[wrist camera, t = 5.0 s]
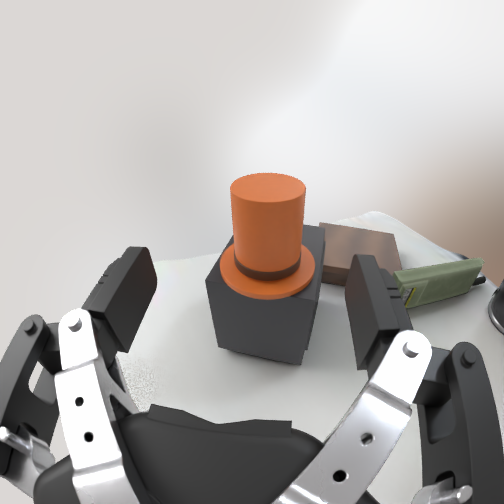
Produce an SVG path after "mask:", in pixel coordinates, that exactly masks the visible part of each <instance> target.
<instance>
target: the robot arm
mask: <svg viewBox="0 0 504 504" xmlns="http://www.w3.org/2000/svg"><path fill="white" fill-rule="evenodd" d="M156 288H157V276H156V272H155V269H154V266H153V262H152V259H151V256H150V252H149V250H148V248H146V247H128V248H127V249H126V251H125V252H124V254H123V255H122V257H121V258H118V259H117V260H116V261H114V262H113V263H112V264H110V265H109V266H108V268H107V270H106V271H105V272H104V274H103V276H102V277H101V278H100V280H99V281H98V284H96V286H95V287H94V289H93V290H92V292H91V293H90V295H89V297H88V298H87V300H86V301H85V303H84V304H83V306H82V308H81V309H75V310H73V311H70V312H69V313H67V314H66V315H65V316H64V317H63V318H62V320H61V321H60V322H59V323H51V324H46V323H45V321H44V320H43V319H42V317H41V316H40V315H31V316H29V317H28V318H26V319H25V320H24V321H23V322H22V323H21V325H20V327H19V328H18V330H17V332H16V334H15V336H14V337H13V339H12V341H11V343H10V345H9V346H8V349H7V350H6V352H5V354H4V356H3V358H2V360H1V362H0V477H2V478H5V479H7V480H8V481H9V482H11V483H12V484H13V485H14V486H16V487H17V488H18V489H20V490H21V491H23V492H24V493H25V494H27V495H28V496H30V497H31V498H33V500H34V504H380V503H379V502H378V501H377V500H376V499H375V498H374V497H373V496H372V495H371V494H370V493H369V492H368V491H367V490H366V489H367V488H368V486H369V485H370V484H371V482H372V481H373V479H374V478H375V476H376V475H377V473H378V472H379V470H380V469H381V467H382V466H383V464H384V463H385V461H386V460H387V458H388V456H389V455H390V453H391V451H392V450H393V448H394V446H395V445H396V443H397V441H398V439H399V438H400V436H401V434H402V432H403V430H404V428H405V426H406V425H407V423H408V421H409V419H410V416H411V413H412V409H411V408H410V405H411V403H415V404H417V409H418V418H419V427H420V437H421V451H422V477H423V488H422V489H421V490H419V491H418V493H417V494H416V495H415V497H414V498H413V500H412V502H411V504H504V454H503V445H502V438H501V431H500V425H499V420H498V415H497V410H496V405H495V401H494V397H493V393H492V389H491V385H490V381H489V378H488V374H487V371H486V368H485V364H484V361H483V358H482V356H481V353H480V352H479V350H478V349H477V348H476V347H475V346H474V345H472V344H471V343H468V342H460V343H458V344H456V345H455V347H454V348H453V349H452V350H451V351H449V350H445V349H440V348H436V347H432V346H431V345H430V343H429V341H428V340H427V338H426V337H425V336H423V335H422V334H421V333H419V332H417V331H414V330H413V327H412V324H411V321H410V318H409V315H408V313H407V310H406V307H405V305H404V302H403V299H401V294H400V292H399V290H398V287H397V284H396V282H395V279H394V277H393V276H392V275H391V274H390V273H389V272H388V271H387V270H386V269H385V268H379V266H378V264H377V261H376V259H375V256H374V255H364V254H354V256H353V258H352V262H351V266H350V270H349V274H348V278H347V282H346V286H345V300H346V306H347V311H348V316H349V321H350V327H351V332H352V338H353V344H354V350H355V356H356V363H357V370H367V372H368V378H369V380H368V381H367V383H366V384H365V386H364V387H363V389H362V390H361V392H360V393H359V395H358V396H357V398H356V399H355V401H354V402H353V404H352V405H351V407H350V408H349V410H348V411H347V412H346V414H345V415H344V416H343V418H342V419H341V420H340V422H339V423H338V424H337V426H336V427H335V428H334V429H333V431H332V432H331V433H330V434H329V436H328V437H327V438H326V439H325V441H324V442H323V443H322V442H321V441H319V440H318V439H316V438H315V437H313V436H311V435H309V434H307V433H305V432H303V431H300V430H297V429H293V428H291V427H292V421H279V420H258V419H254V420H248V421H241V422H233V423H224V424H215V423H212V422H209V421H207V420H204V419H202V418H199V417H197V416H195V415H192V414H190V413H188V412H185V411H183V410H178V409H173V408H168V407H164V406H159V405H155V404H151V406H150V409H149V411H146V412H140V411H139V410H138V408H137V406H136V405H135V403H134V401H133V400H132V398H131V395H130V393H129V390H128V387H127V384H126V381H125V378H124V375H123V372H122V369H121V366H120V363H119V360H118V358H117V356H116V353H117V351H120V352H125V353H128V352H129V349H130V347H131V345H132V342H133V340H134V338H135V335H136V333H137V331H138V328H139V326H140V324H141V322H142V319H143V317H144V315H145V313H146V310H147V308H148V306H149V304H150V302H151V300H152V297H153V295H154V293H155V291H156ZM494 294H495V295H494ZM494 294H493V295H494V297H493V298H492V299H491V301H490V302H489V305H488V312H489V316H490V318H491V320H492V322H493V324H494V325H495V326H496V328H497V329H498V330H499V331H501V332H502V333H503V334H504V280H503V281H502V283H501V285H500V287H499V288H498V289H497V290H496V291H495V292H494ZM493 295H492V296H493ZM37 361H38V362H40V364H41V365H42V366H43V367H44V368H43V370H42V372H41V374H40V377H39V379H38V382H37V384H36V386H35V389H34V391H33V393H32V392H31V391H30V389H29V385H28V383H29V379H30V376H31V374H32V372H33V370H34V367H35V365H36V363H37ZM59 414H60V416H61V421H62V425H63V430H64V434H65V438H66V442H67V446H68V449H69V453H70V454H69V455H68V456H67V457H65V458H63V459H62V460H60V461H59V462H57V463H56V464H55V457H54V456H53V454H51V453H50V449H49V447H50V443H51V440H52V436H53V433H54V429H55V426H56V423H57V420H58V417H59ZM50 466H51V467H50Z"/></svg>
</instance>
